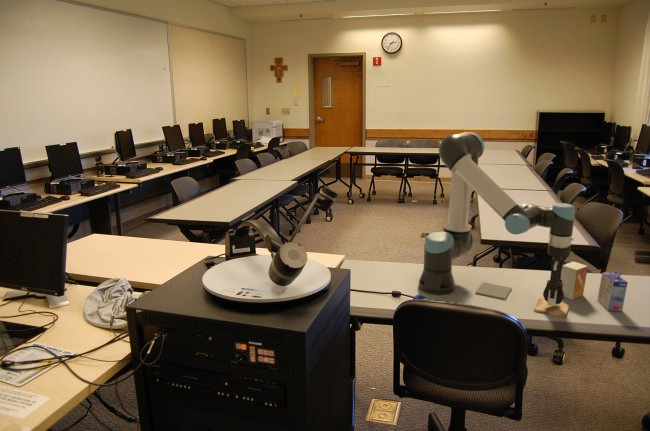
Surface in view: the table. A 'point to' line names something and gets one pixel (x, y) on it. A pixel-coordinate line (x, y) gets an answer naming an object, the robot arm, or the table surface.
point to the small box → (573, 279)
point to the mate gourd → (559, 292)
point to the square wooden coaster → (551, 308)
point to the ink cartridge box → (612, 291)
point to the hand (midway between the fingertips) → (552, 301)
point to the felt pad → (493, 290)
